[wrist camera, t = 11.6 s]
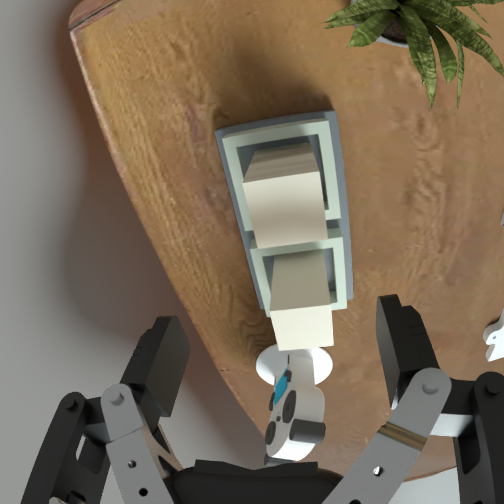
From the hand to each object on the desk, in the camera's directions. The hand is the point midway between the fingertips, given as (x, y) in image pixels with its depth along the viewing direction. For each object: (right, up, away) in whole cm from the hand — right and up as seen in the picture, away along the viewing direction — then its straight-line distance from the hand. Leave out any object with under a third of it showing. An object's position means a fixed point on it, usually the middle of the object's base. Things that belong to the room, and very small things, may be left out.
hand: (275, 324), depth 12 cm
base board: (+3, +6, +21) cm, 22 cm away
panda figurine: (+5, -14, +33) cm, 36 cm away
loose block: (+2, +10, +16) cm, 20 cm away
